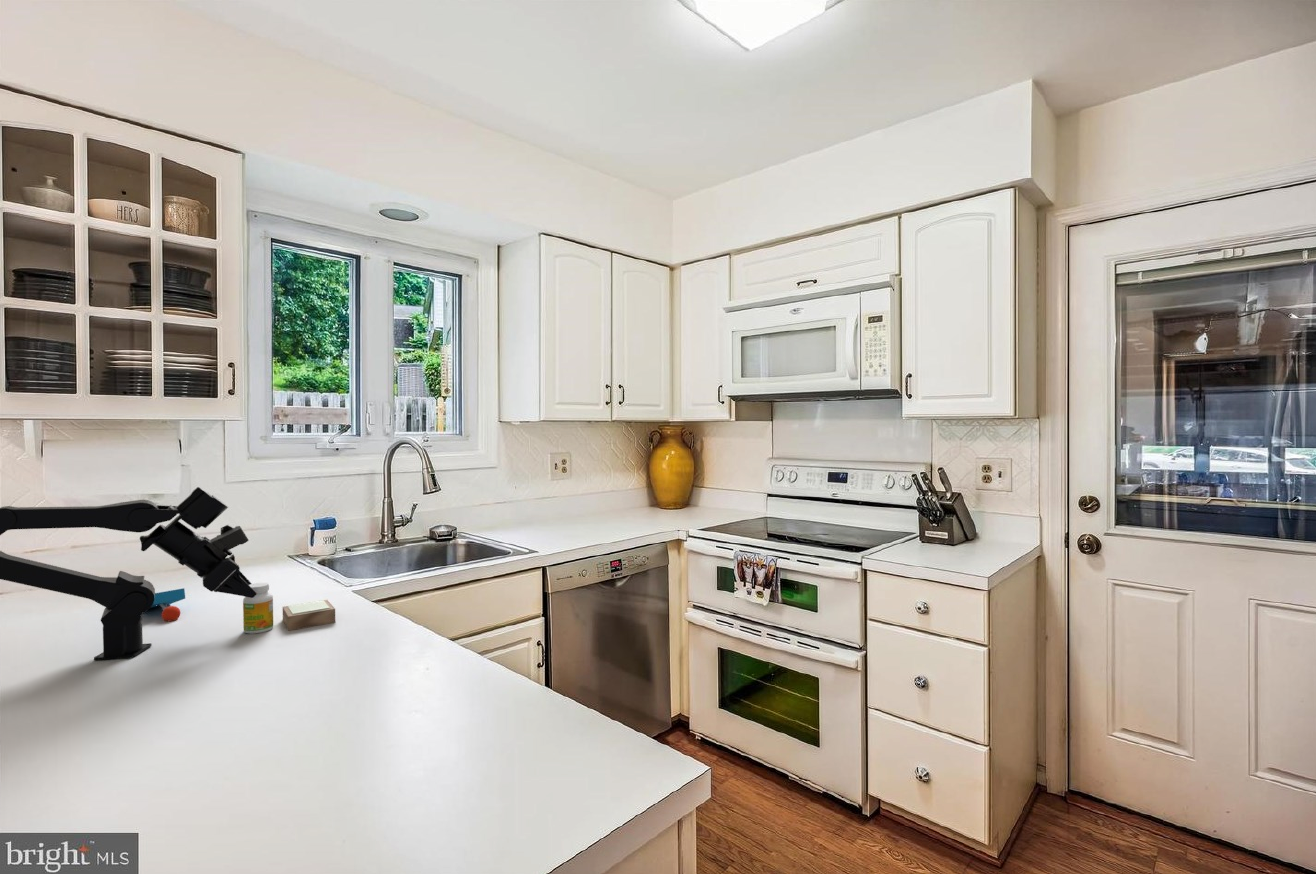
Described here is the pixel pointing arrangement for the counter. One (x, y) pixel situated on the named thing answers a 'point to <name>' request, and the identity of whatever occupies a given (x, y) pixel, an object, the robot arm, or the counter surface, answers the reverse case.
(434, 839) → the counter surface
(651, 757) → the counter surface
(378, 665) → the counter surface
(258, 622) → the supplement bottle
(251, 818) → the counter surface
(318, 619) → the base brick
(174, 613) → the lever
